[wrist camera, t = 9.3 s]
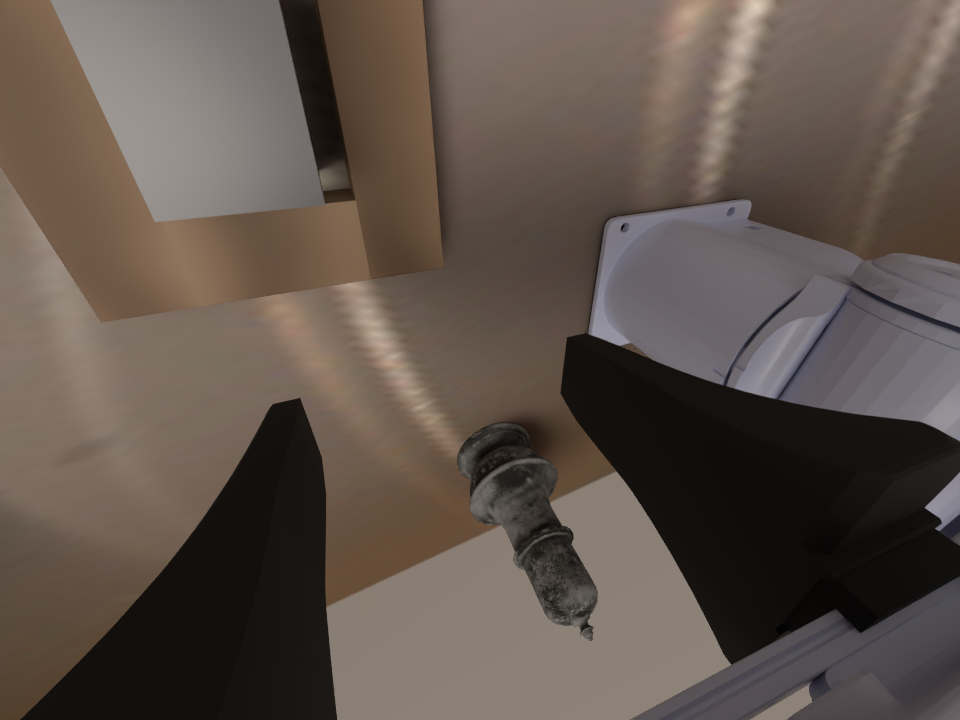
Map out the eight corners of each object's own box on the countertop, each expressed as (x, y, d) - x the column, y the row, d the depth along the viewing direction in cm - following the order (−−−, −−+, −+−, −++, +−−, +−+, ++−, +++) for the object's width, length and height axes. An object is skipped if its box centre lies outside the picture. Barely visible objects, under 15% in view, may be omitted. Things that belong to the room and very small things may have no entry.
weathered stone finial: (494, 490, 30) (581, 674, 21) (435, 470, 26) (507, 680, 17) (548, 435, 29) (666, 605, 19) (493, 406, 25) (605, 596, 16)
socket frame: (387, -216, 11) (401, -265, 9) (431, 251, 18) (443, 267, 17) (-243, -320, 8) (-381, -422, 6) (121, 297, 15) (101, 322, 14)
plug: (278, -7, 12) (266, -54, 8) (318, 170, 15) (325, 205, 11) (124, -13, 11) (17, -69, 7) (199, 180, 14) (154, 222, 10)
